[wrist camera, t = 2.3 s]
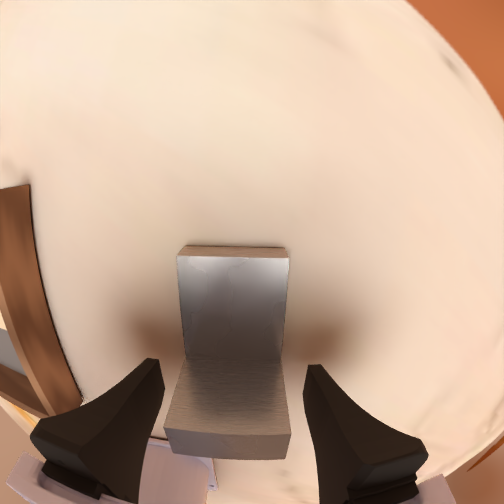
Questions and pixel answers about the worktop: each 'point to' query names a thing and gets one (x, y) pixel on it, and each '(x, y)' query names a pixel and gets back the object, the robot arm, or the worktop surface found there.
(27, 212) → the corner walls
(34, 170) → the worktop surface
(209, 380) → the angle bracket
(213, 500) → the worktop surface
